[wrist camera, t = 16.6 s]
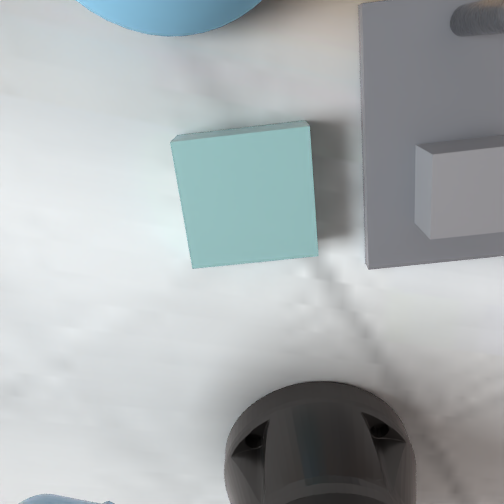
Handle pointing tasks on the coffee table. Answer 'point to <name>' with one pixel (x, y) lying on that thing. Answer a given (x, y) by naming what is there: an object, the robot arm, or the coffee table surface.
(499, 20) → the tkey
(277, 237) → the lid
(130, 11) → the sugar bowl
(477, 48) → the grey base plate
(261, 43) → the coffee table surface
